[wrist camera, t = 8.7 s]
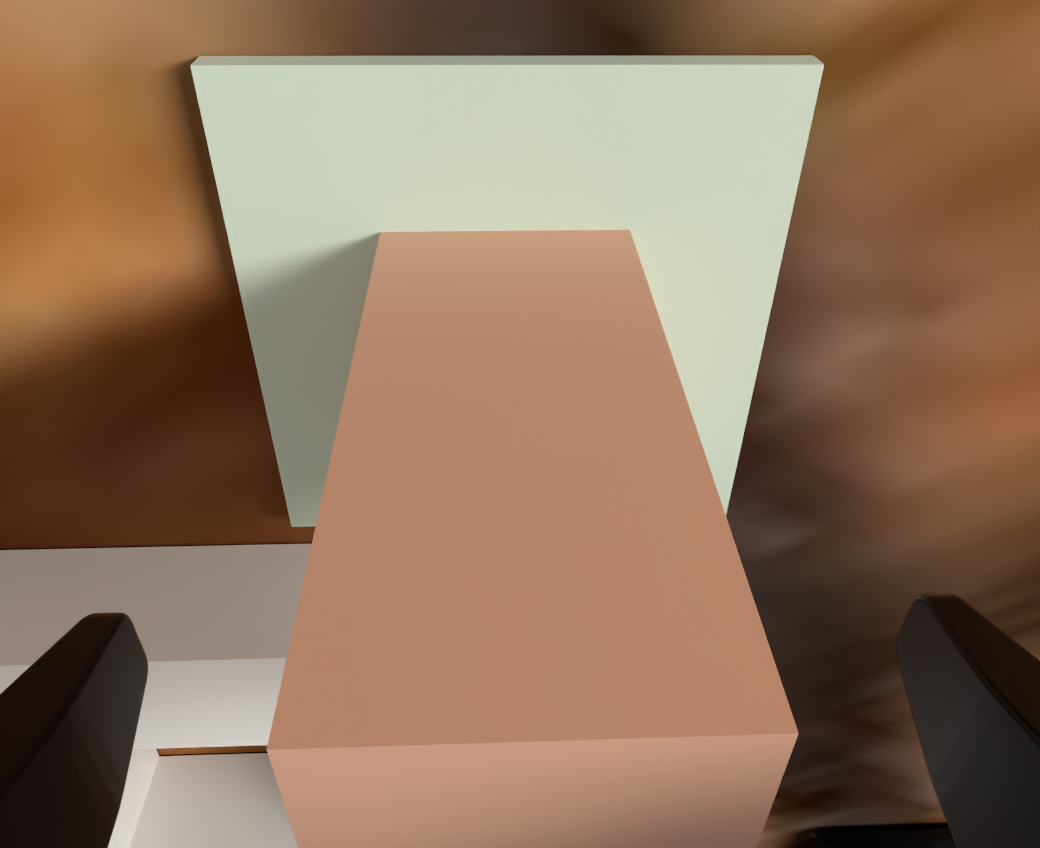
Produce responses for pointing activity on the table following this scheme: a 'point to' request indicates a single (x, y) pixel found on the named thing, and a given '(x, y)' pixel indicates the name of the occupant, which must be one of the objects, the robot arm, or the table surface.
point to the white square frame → (177, 674)
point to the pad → (502, 203)
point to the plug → (523, 574)
